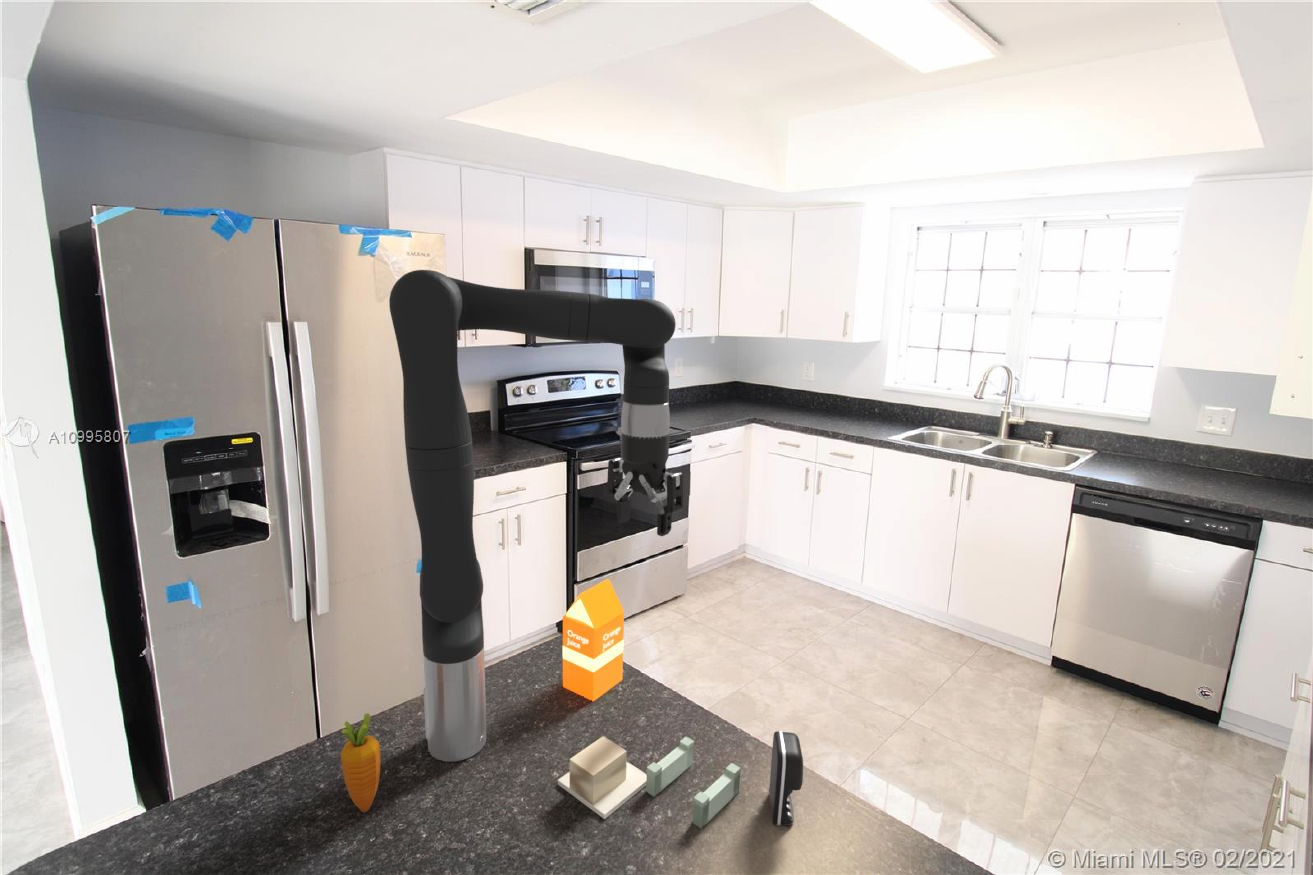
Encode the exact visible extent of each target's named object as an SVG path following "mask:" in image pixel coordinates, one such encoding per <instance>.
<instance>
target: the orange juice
mask: <svg viewBox="0 0 1313 875" xmlns="http://www.w3.org/2000/svg"><path fill="white" fill-rule="evenodd" d="M624 622H625V610H624V609H623V606H622V604H621V602H620V600H619V598H618V595H617V594H616V592H615V589H614V587H613V585H612V581H610V578H606V579H605V580H603V581H601V582H599V583H598V584H596V585H594V586H593V587H590V588H588V589H586V590H585V591H583V592H581V593H579V594H578V596H577V598H576V599H575V600H574V602H573V603H572V604H571V606H570V607H569V609H568V610H566V612H565V614H564V615H563V616H562V687H563V688H565V689H566V690H568V691H571V692H573V693H575V694H577V695H579V696H582V697H583V696H584V697H583V698H585V699H587V700H589V701H591V700H592V702H594V701H596V700H597V699H598V698H600V697H601V696H603V695H604V694H605V693H607V692H608V691H610V689H612V688H614V687H615V686H616V685H617V684H619V683H620V682H621V681H623V676H624V674H623V671H624V670H623V666H624V665H623V664H624V644H625V643H624V628H625V627H624V624H625V623H624Z"/></svg>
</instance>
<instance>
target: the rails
mask: <svg viewBox="0 0 1313 875" xmlns="http://www.w3.org/2000/svg"><path fill="white" fill-rule="evenodd" d="M694 746H695V741H694V740H693V739H691V738H690V737H688V736H684V738H682V739H681V740H679V745H678V746H677V747H675V748H674V749H673V750H672V751H671V752H669V753H668V754H667V755H665V756H664V757H662V758H661V760H659V761H657V763H656V762H654V761H653V762H652V763H651V764H649V765H647V767H646V774H647V777H646V786H645V792H646V793H648V794H649V795H650V796H652V797H656V796H657V795H658V794H659V793H661V792H662V791H663V790H664V789H666V787H667V786H669V785H670V784H671V783H673V781H675V780H676V779H677V778H678V777H679V776H681V775H682V774H683V773H684V772H685V771H687V770H688V769H689V768H690V767H691V766H693V765H694V763H693V762H694ZM740 782H741V767H740V766H738V765H737V764H734V763H733V762H731V763H730V764H728V766H727V767H726V768H725V772H724V773H723V774H722V775H721V776H720V777H719V778H718V779H717V780H716V781H714V782H713V784H711V785H710V786H709V787H708V788H707V789H706V790H705V791H704V792H702V791H699V792H698V793H697V794H695V796H694V797H693V804H692V819H691V820H692V821H691V822H692V824H694V825H696V826H697V827H698V828H699V829H703V828H704V827H705V825H707V824H708V823H709V822H710V821H711V820H712V819H713V818H714V817H716V815H717V814H718V813H719V812H720V811H721V810H722V809H723V808H724V807H725V806H726V805H727V804H728V803H729V802H731V800H732V799H733V798H734V797H736V795H737V794H738V793H739V792H740Z"/></svg>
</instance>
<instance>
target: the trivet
mask: <svg viewBox="0 0 1313 875" xmlns="http://www.w3.org/2000/svg"><path fill="white" fill-rule="evenodd" d="M646 777H647V773H645V771H642V770H641V769H639V768H637V767H636V766H634V765H633V764H631V763H630V762H629V761H627V764H626V780H625V781H623V782H622V783H621V784H620V785H618V786H617V787H616V788H615V789H613V790H612V791H611V792H609V793H608V794H607V795H606V796H604V797H603V798H602V799H601V800H599V801H598V802H597V803H595V804H594V805H592V804H591V803H589V802H588V801H586V800H585V799H584V798H582V797H581V796H580V795H578V794H577V793H576V792H574V791H573V790H572V789H570V771H568V772H567V773H565V774H564V775H563V776H561V777H560V778H558V779H557V785H558V786H559V787H561V788H562V789H563V790H565V791H566V792H568V793H569V794H571V795H572V796H573V797H574V798H576V799H577V800H578V801H579V802H581V803H582V804H584V805H585V806H586V807H588V808H589V809H591V811H592V812H594V813H596V814H597V815H598V816H600V817H601V818H602V819H604V820H606V819H607V818H608V817H610V815H612V814H613V813H614V812H615V811H617V810H618V809H619V808H621V807H622V806H624V804H626V803H627V802H628V801H630V799H632V798H633V797H634V796H635V795H636V794H638V793H639V792H640V791H641V790H643V789H644V788H646Z"/></svg>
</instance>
